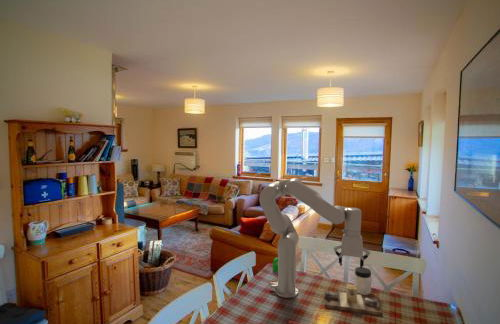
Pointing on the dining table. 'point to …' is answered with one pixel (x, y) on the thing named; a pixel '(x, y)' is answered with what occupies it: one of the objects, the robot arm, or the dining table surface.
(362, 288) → the jar
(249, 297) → the dining table surface
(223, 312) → the dining table surface
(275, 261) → the mechanical part
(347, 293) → the brass coupler
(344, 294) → the coupling jig
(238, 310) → the dining table surface
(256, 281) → the dining table surface
